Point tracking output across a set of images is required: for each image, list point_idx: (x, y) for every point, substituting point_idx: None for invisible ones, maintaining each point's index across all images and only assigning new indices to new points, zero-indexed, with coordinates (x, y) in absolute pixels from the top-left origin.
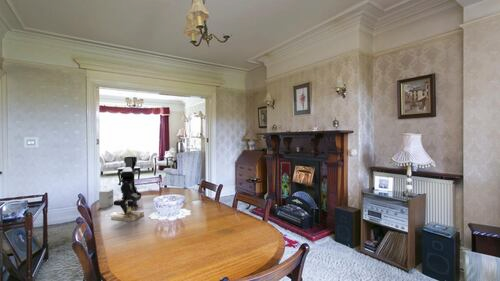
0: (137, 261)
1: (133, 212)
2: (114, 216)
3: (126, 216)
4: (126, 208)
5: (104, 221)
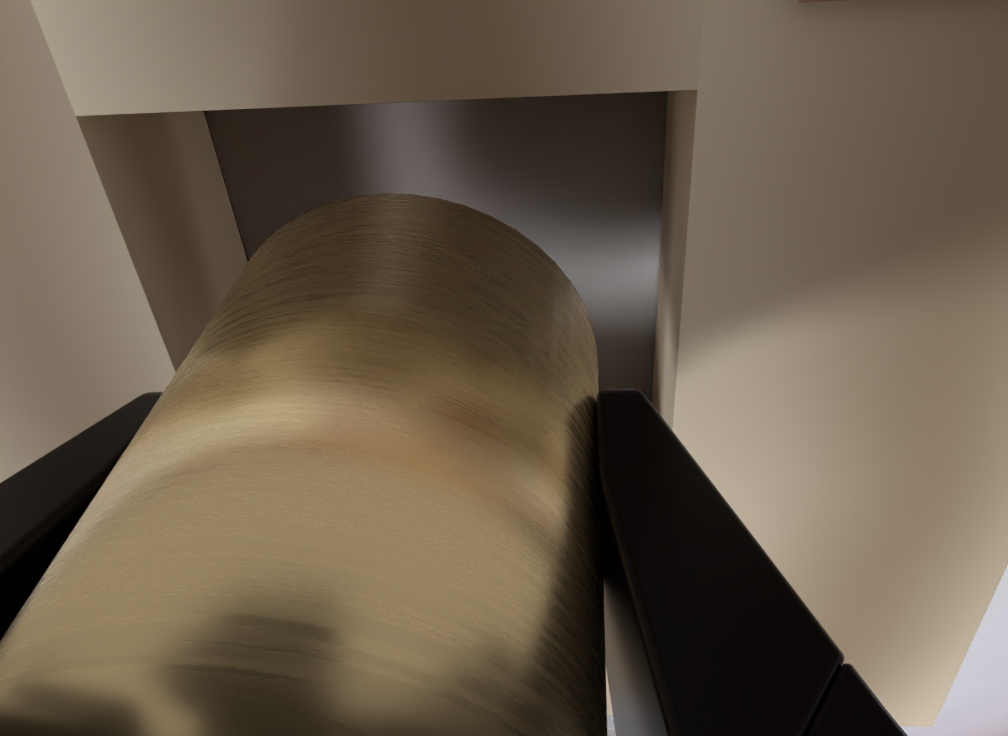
0: None
1: (43, 283)
2: (908, 653)
3: (902, 94)
4: (742, 707)
5: (987, 686)
